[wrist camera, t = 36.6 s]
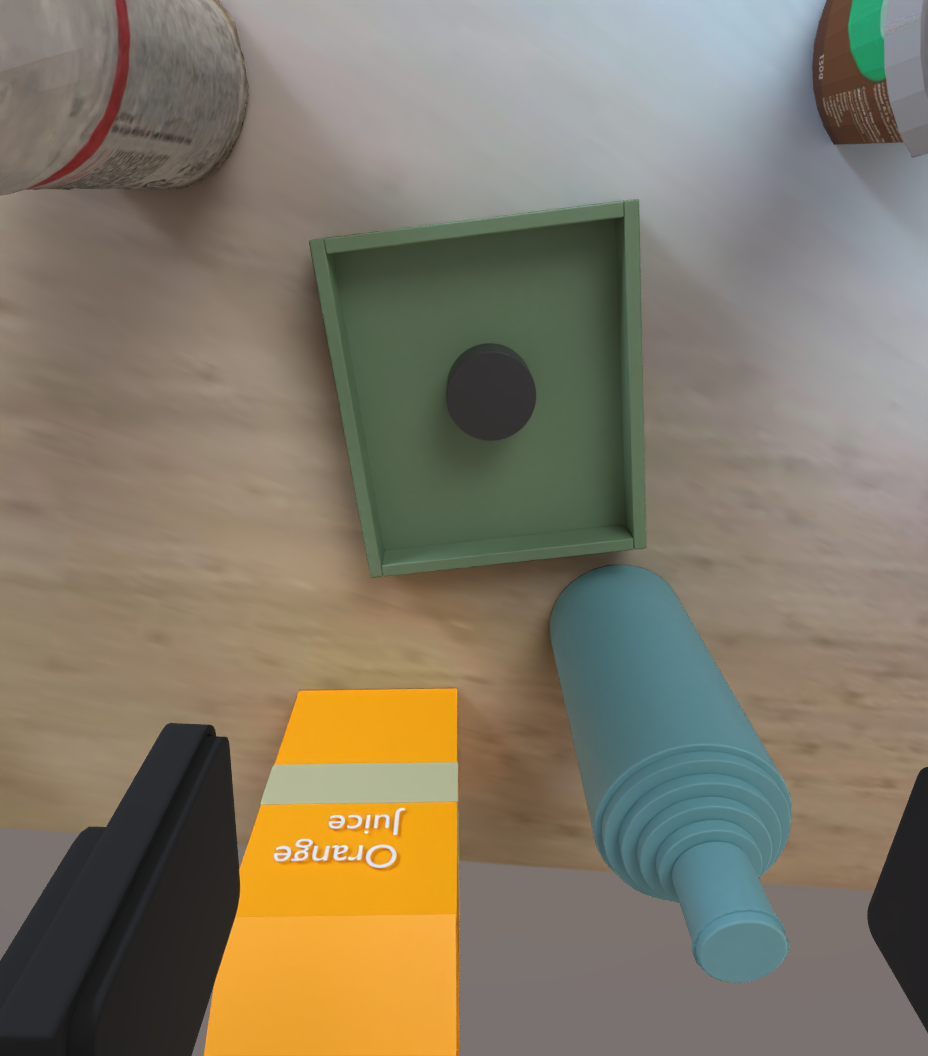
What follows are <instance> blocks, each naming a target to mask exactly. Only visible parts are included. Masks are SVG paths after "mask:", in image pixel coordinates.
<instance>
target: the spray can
mask: <svg viewBox="0 0 928 1056" xmlns="http://www.w3.org/2000/svg"><path fill="white" fill-rule="evenodd" d="M243 60H244V58H243V54H242V52H241V49H240V44H239V40H238V35H237V30H236V26H235V22H234V20H233V19H232V18H231V16H230V15H229V13H228V12H227V10H226V9H225V7H224V6H223V5H222V4H221V3H220V1H219V0H0V195H7V194H11V193H15V192H18V191H22V190H30V189H33V190H38V189H68V190H70V189H73V188H79V189H140V188H147V189H160V188H168V189H174V188H176V189H182V188H183V187H187V186H189V185H192V184H193V183H195V182H197V181H200V180H202V179H203V178H204V177H205V176H207V175H209V174H211V173H213V172H214V171H216V170H217V169H218V168H219V167H220V165H221V164H222V162H223V160H224V159H227V158H228V156H229V155H230V154H229V153H230V152H231V148H232V147H233V145H234V144H235V142H236V138H237V137H238V136H239V133H240V130H241V126H242V124H243V119H244V114H245V112H244V111H245V110H246V109H245V104H247V98H248V96H249V95H248V82H247V78H246V70H245V67H244V64H243Z"/></svg>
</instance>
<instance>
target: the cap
mask: <svg viewBox="0 0 928 1056" xmlns="http://www.w3.org/2000/svg"><path fill="white" fill-rule="evenodd" d="M446 398H447V406H448V410H449V413H450V415H451V417H452V419H453V421H454V422H455V424H456V425H457V426H458V427H459V428H460V429H461V430H462V431H463V432H465V433H466V434H468V435H470V436H472V437H474V438H477V439H480V440H486V441H496V440H501V439H505V438H508V437H510V436H512V435H514V434H515V433H517V432H518V431H519V430H521V429H522V428H523V427H524V426H525V425H526V423H527V422H528V421H529V419H530V418H531V416H532V414H533V411H534V408H535V405H536V386H535V383H534V380H533V377H532V375H531V373H530V371H529V369H528V367H527V365H526V363H525V361H524V360H523V359H522V358H521V356H519V355H518V354H517V353H516V352H515V351H513V350H512V349H510V348H508V347H506V346H503V345H500V344H493V343H486V344H480V345H477V346H474V347H472V348H470V349H468V350H466V351H465V352H464V353H462V354H461V355H460V356H459V357H458V358H457V359H456V361H455V362H454V364H453V366H452V367H451V370H450V372H449V376H448V381H447V395H446Z"/></svg>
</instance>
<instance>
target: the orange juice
mask: <svg viewBox="0 0 928 1056" xmlns="http://www.w3.org/2000/svg"><path fill="white" fill-rule="evenodd" d="M239 874H240V897H239V904H238V909H237V913H236V917H235V920H234V923H233V926H232V929H231V933H230V936H229V939H228V942H227V945H226V948H225V951H224V955H223V958H222V961H221V964H220V967H219V970H218V973H217V977H216V980H215V983H214V988H213V995H212V1002H211V1010H210V1016H209V1023H208V1030H207V1037H206V1044H205V1051H204V1056H458V1052H459V923H460V857H459V771H458V715H457V688H456V689H385V690H313V691H299V693H298V696H297V699H296V702H295V705H294V708H293V711H292V714H291V717H290V720H289V723H288V726H287V729H286V732H285V735H284V738H283V741H282V744H281V747H280V750H279V753H278V756H277V759H276V762H275V765H273V767H272V770H271V773H270V776H269V779H268V782H267V785H266V788H265V791H264V794H263V797H262V800H261V803H260V810H259V813H258V816H257V819H256V822H255V825H254V828H253V831H252V834H251V837H250V840H249V843H248V846H247V849H246V852H245V855H244V858H243V861H242V864H241V867H240V869H239Z"/></svg>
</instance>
